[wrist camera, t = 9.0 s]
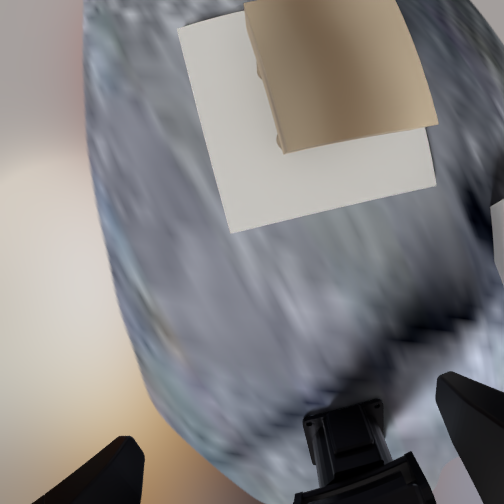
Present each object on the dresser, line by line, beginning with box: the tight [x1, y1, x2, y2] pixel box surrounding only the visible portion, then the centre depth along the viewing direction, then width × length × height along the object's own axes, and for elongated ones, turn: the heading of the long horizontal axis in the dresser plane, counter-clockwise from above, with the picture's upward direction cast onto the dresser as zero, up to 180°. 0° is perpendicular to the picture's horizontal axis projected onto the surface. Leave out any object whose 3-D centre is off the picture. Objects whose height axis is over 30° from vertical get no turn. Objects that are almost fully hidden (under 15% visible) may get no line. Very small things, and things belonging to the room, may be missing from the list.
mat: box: [177, 11, 436, 234], centre depth 17 cm, size 13×13×1 cm
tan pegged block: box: [244, 0, 439, 155], centre depth 13 cm, size 6×6×7 cm
